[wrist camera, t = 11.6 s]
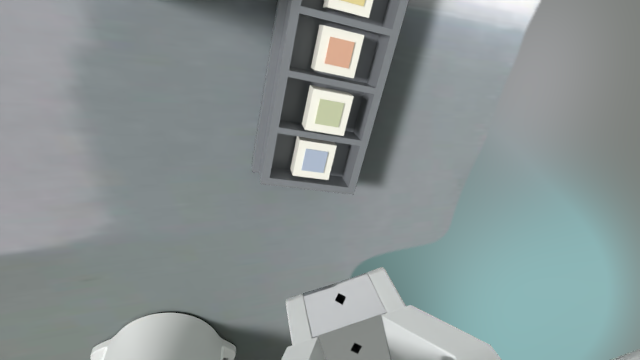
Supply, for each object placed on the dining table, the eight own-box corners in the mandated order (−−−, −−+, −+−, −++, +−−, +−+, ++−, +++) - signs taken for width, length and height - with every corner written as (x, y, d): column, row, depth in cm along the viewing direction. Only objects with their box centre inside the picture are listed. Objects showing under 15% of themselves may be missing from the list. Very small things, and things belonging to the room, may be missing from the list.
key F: (348, 75, 36) (354, 78, 34) (310, 67, 35) (314, 70, 33) (358, 34, 35) (365, 35, 33) (319, 24, 34) (324, 25, 32)
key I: (338, 130, 37) (344, 136, 35) (301, 124, 36) (305, 130, 34) (348, 92, 36) (354, 96, 34) (309, 84, 35) (313, 88, 33)
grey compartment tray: (348, 177, 44) (360, 195, 40) (251, 165, 41) (253, 183, 37) (404, -29, 36) (427, -35, 31) (287, -65, 33) (295, -78, 28)
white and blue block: (324, 172, 40) (328, 180, 39) (290, 168, 39) (292, 176, 37) (332, 139, 39) (337, 146, 37) (297, 134, 38) (300, 140, 36)
